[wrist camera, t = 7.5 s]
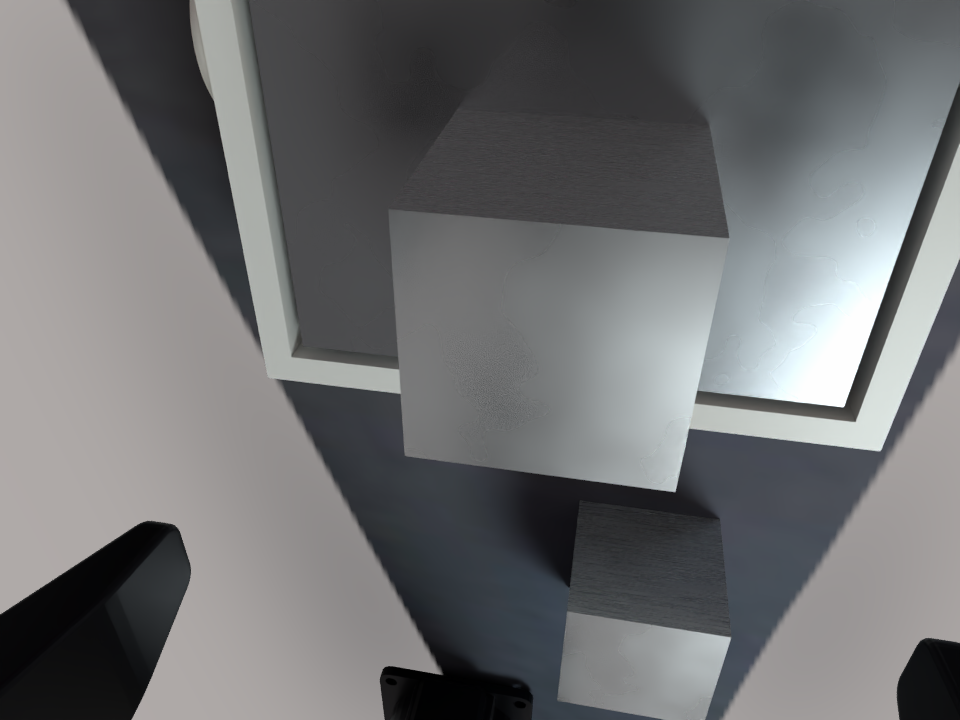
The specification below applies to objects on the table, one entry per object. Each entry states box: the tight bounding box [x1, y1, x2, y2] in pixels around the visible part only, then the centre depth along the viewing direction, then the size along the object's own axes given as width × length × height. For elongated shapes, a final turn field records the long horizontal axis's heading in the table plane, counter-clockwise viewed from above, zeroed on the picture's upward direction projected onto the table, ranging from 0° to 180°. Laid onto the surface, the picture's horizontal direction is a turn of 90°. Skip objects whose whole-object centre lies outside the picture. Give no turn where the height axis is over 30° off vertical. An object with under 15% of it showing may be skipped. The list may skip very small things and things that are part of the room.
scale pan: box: [249, 0, 960, 407], centre depth 14 cm, size 13×12×1 cm
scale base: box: [190, 0, 960, 451], centre depth 15 cm, size 15×14×4 cm
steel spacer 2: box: [557, 500, 731, 720], centre depth 24 cm, size 4×4×4 cm
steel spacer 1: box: [388, 109, 730, 492], centre depth 13 cm, size 4×4×4 cm
